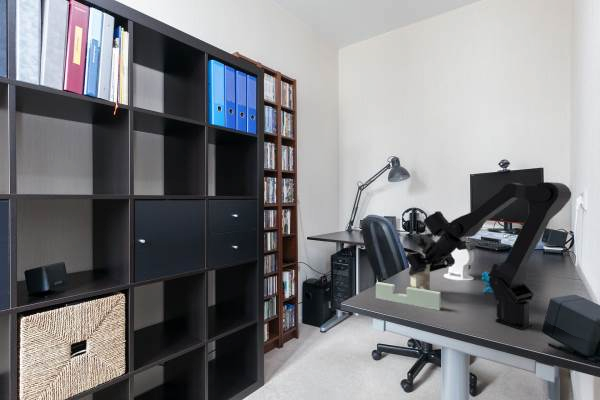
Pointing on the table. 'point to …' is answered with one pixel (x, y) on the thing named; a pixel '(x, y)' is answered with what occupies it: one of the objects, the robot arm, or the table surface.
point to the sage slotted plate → (409, 296)
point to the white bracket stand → (461, 264)
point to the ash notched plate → (421, 279)
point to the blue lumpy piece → (486, 282)
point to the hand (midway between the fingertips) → (417, 273)
